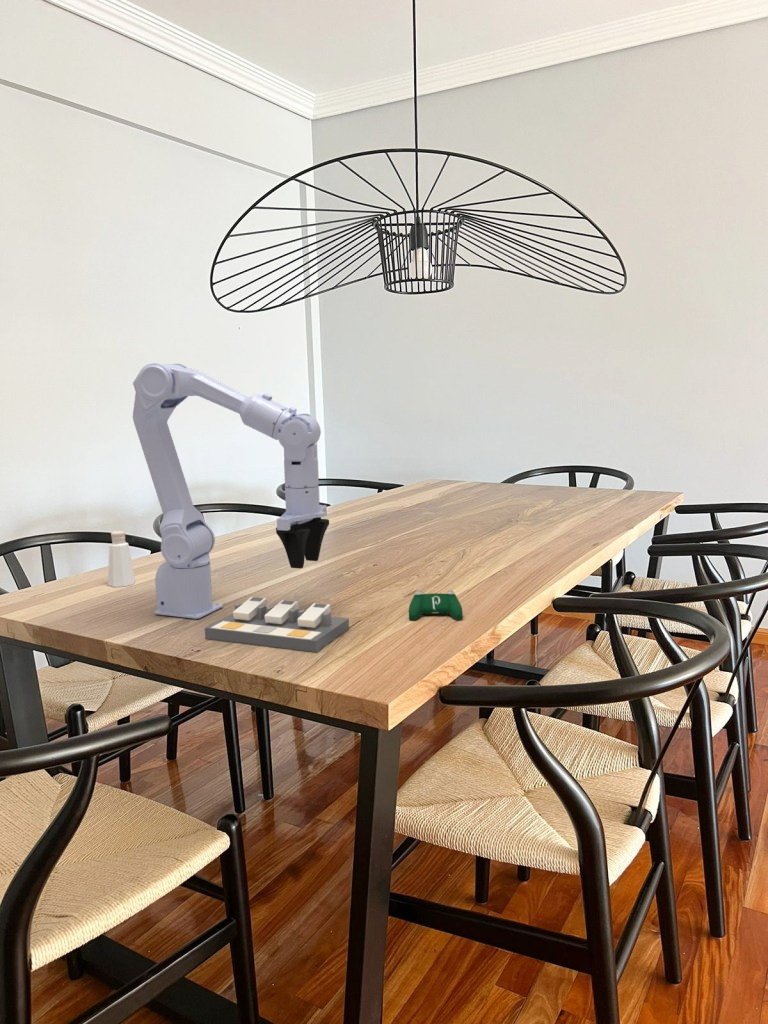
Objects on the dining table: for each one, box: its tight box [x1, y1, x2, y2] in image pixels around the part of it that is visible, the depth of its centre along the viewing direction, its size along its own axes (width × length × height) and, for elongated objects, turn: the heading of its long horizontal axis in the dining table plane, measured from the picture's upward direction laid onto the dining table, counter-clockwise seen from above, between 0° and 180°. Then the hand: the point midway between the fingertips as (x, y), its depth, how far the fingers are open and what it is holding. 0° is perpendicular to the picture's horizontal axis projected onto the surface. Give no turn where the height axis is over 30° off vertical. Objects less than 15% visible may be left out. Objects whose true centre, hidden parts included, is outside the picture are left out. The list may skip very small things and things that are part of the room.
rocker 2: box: [265, 599, 300, 624], centre depth 130 cm, size 3×6×1 cm, turn 158°
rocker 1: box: [232, 596, 268, 620], centre depth 132 cm, size 3×6×1 cm, turn 158°
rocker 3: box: [297, 602, 332, 628], centre depth 128 cm, size 3×6×1 cm, turn 158°
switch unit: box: [204, 602, 350, 653], centre depth 129 cm, size 20×12×4 cm, turn 68°
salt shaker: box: [107, 530, 136, 588], centre depth 162 cm, size 5×5×11 cm
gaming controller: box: [408, 589, 464, 621], centre depth 137 cm, size 9×4×6 cm
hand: (304, 564), depth 137 cm, fingers open, 5 cm apart
